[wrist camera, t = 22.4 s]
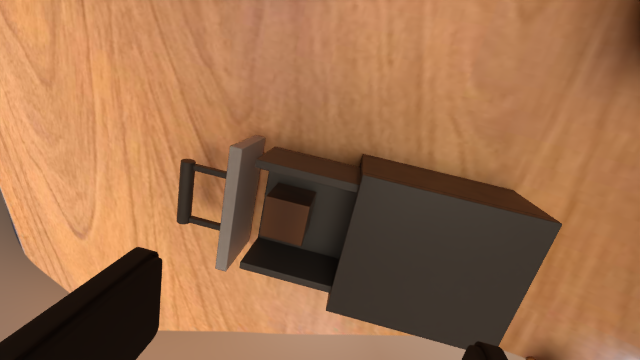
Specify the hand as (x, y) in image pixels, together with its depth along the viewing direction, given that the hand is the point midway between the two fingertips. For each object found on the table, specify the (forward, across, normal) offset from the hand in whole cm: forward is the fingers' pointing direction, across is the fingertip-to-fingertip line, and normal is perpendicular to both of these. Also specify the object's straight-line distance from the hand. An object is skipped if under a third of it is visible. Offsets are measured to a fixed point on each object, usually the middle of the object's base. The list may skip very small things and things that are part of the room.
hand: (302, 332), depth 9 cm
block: (+24, +4, +7) cm, 26 cm away
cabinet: (+26, -10, +7) cm, 29 cm away
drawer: (+25, +6, +7) cm, 27 cm away
